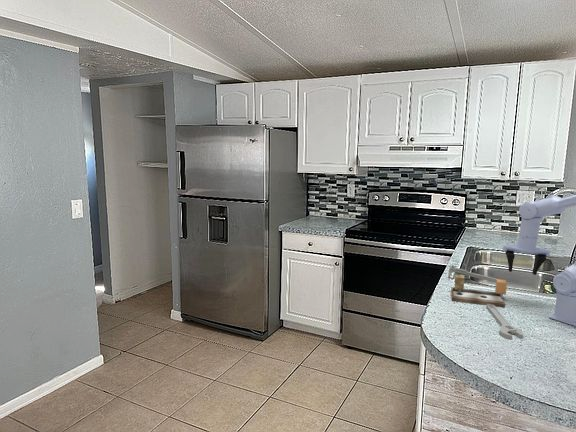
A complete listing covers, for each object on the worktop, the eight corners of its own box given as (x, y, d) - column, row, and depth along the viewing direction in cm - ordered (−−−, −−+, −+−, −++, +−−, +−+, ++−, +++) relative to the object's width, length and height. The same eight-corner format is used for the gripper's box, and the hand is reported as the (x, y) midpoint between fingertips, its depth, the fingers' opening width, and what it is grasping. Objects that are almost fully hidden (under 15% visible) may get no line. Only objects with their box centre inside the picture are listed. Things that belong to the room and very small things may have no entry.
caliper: (448, 279, 172) (449, 264, 171) (448, 278, 173) (449, 264, 172) (500, 283, 167) (502, 268, 166) (500, 282, 168) (501, 267, 167)
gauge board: (500, 296, 151) (501, 278, 150) (504, 307, 140) (506, 288, 139) (451, 290, 157) (452, 273, 156) (451, 300, 146) (453, 282, 145)
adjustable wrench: (484, 308, 141) (485, 303, 141) (505, 310, 139) (505, 305, 139) (501, 339, 117) (502, 333, 117) (526, 342, 116) (526, 336, 115)
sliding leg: (504, 292, 150) (505, 280, 149) (507, 299, 142) (508, 286, 141) (495, 290, 151) (496, 279, 150) (497, 298, 143) (499, 285, 142)
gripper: (548, 235, 143) (542, 271, 146) (503, 230, 148) (497, 266, 151) (554, 240, 137) (547, 278, 140) (506, 235, 141) (501, 272, 144)
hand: (522, 272), depth 145 cm, fingers open, 7 cm apart
